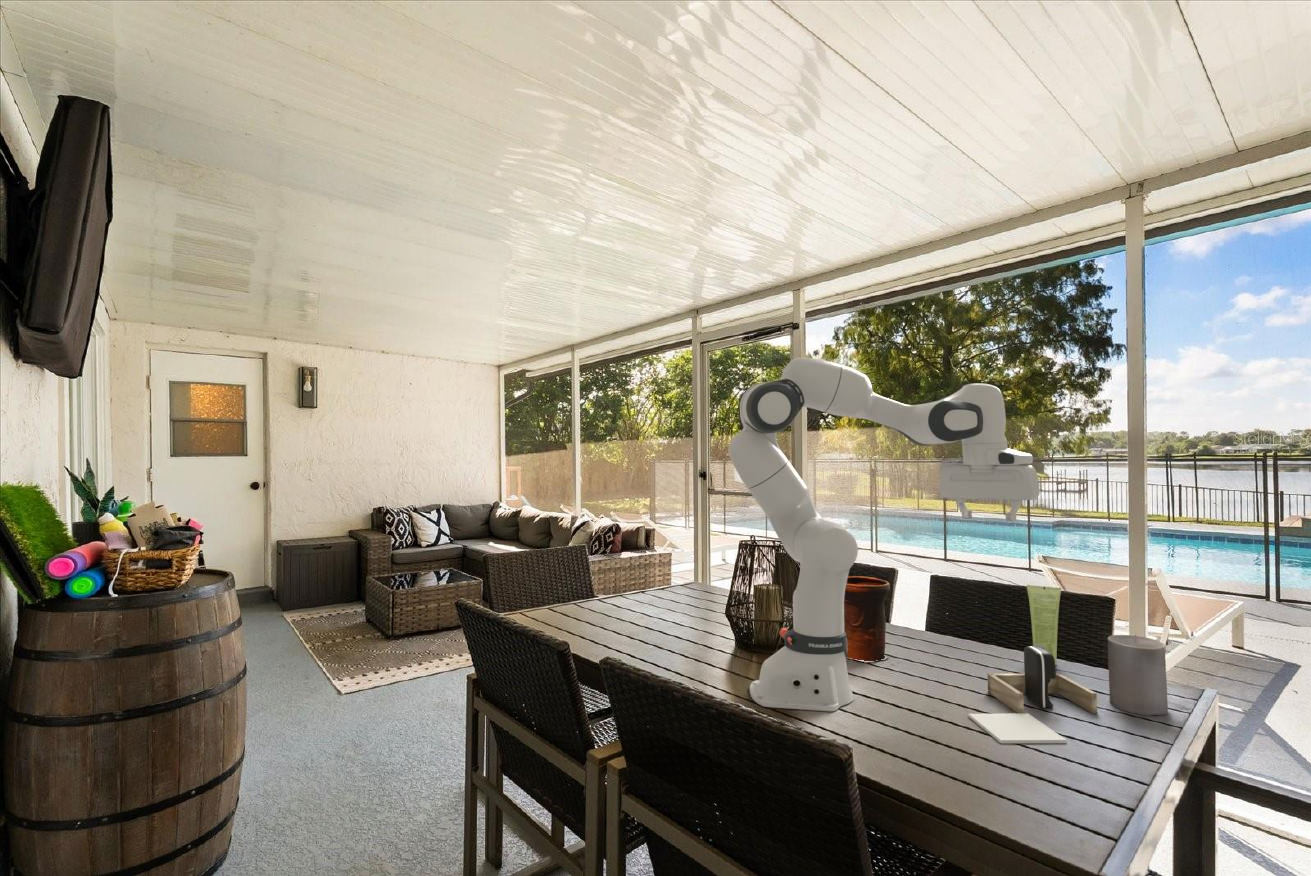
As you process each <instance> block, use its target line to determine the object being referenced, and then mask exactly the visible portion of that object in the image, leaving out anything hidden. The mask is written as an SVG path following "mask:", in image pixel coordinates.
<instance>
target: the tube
mask: <svg viewBox="0 0 1311 876" xmlns="http://www.w3.org/2000/svg"><path fill="white" fill-rule="evenodd" d="M1026 592H1027V595H1028V596H1027V597H1028V602H1029V610H1030V619H1031V632H1032V647H1041V648H1043V649H1044V650H1046V651H1048V652H1049V653H1051V654H1052V655H1053V657H1054V659H1055V666H1056V665H1057V662H1058V661H1057V657H1058V656H1057V655H1058V654H1057V650H1058V628H1059V627H1058V624H1059V613H1060V612H1059V610H1060V600H1061V594H1062V587H1053V586H1043V585H1034V584H1032V585H1031V584H1026Z"/></svg>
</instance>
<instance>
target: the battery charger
mask: <svg viewBox="0 0 1311 876" xmlns="http://www.w3.org/2000/svg"><path fill="white" fill-rule="evenodd" d="M1023 663H1024V664H1023V665H1024V666H1023V667H1024V674H1025V693H1024V695H1025V697H1026V698H1027V699H1028V700H1029V701H1030V702H1032V703H1034V704H1035V705H1036V706H1037V707H1039V708H1042V709H1043V708H1044V709H1045V708H1047V709H1048V708H1053V707H1054V703H1053V702H1052V701H1051V699H1050V697H1049V693H1048V684H1049V682H1050V679H1055V678H1056V673H1057V670H1056V665H1055V659H1054V657H1053V655H1052V654H1051V653H1049V652H1048V651H1046V650H1044V649H1043V648H1041V647H1033V645H1031V646H1030V645H1029V646H1026V647H1024V649H1023Z"/></svg>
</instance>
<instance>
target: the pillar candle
mask: <svg viewBox="0 0 1311 876" xmlns="http://www.w3.org/2000/svg"><path fill="white" fill-rule="evenodd" d="M1165 647H1166V646H1165V644H1164V643H1163V642H1161V641H1159V640H1156V639H1153V638H1149V637H1144V636H1138V635H1137V634H1134V635H1130V634H1129V635H1128V634H1127V635H1126V634H1113V635H1112V634H1111V635H1109V636H1108V637H1107V657H1108V686H1109V688H1108V689H1109V702H1110V705H1112V706H1113V707H1115V708H1117V709H1119V710H1122V711H1125V712H1128V713H1132V714H1136V715H1141V716H1166V715H1167V713H1168V712H1169V709H1168V708H1169V706H1168V705H1169V704H1168V703H1169V702H1168V687H1167V686H1168V685H1167V669H1166V668H1167V667H1166V666H1167V664H1166V651H1165V650H1166V649H1165Z"/></svg>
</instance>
